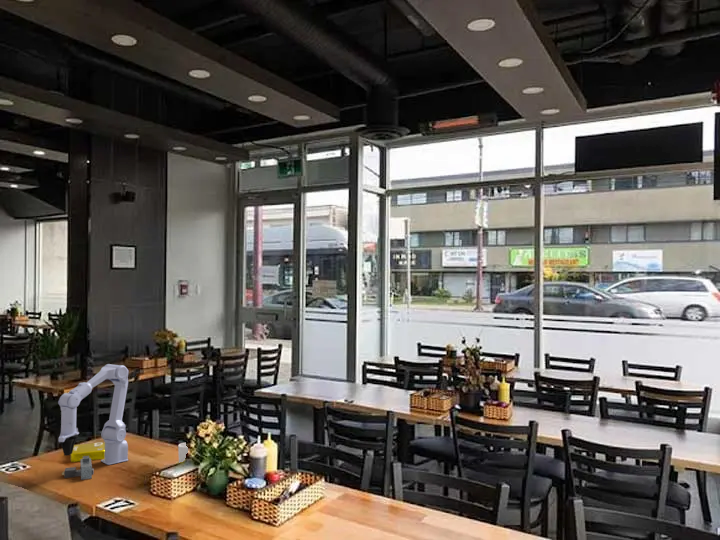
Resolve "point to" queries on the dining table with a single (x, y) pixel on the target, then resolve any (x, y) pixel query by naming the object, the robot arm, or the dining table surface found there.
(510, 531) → the dining table surface
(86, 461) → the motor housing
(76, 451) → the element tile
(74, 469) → the plug
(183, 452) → the white cup
